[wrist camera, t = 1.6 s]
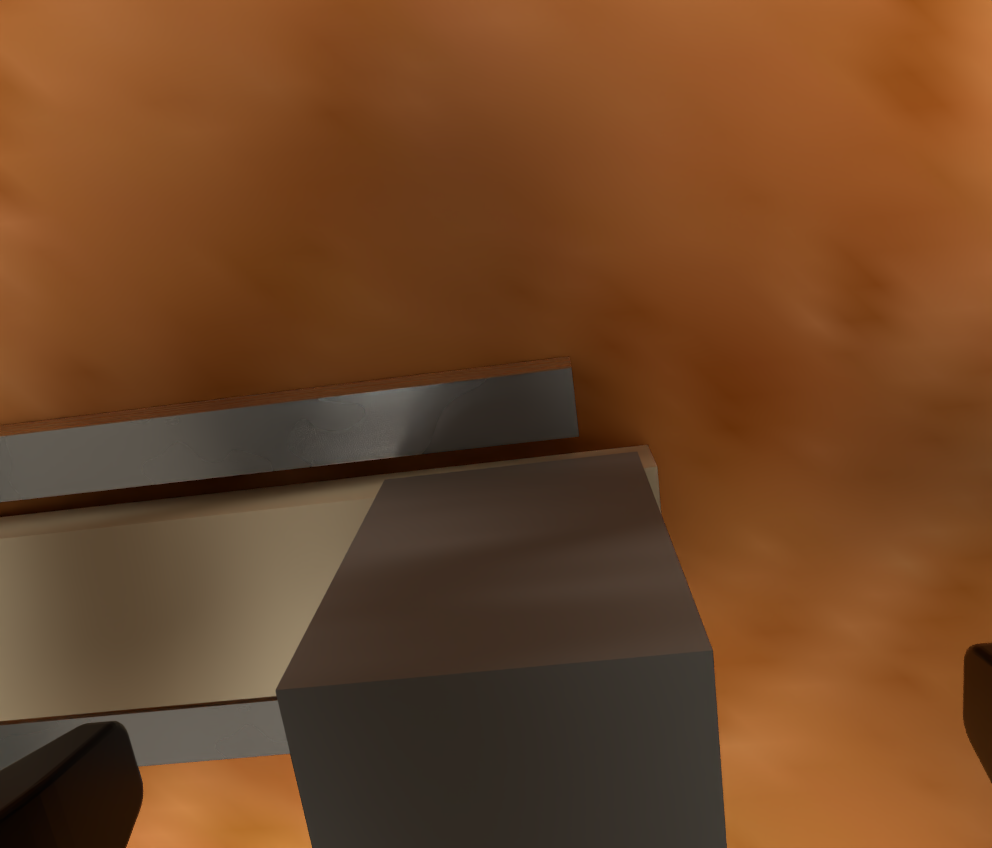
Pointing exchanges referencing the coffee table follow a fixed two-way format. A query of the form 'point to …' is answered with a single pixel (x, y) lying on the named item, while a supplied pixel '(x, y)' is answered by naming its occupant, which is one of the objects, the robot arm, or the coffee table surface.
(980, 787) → the coffee table surface
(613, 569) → the kicker
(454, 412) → the track
